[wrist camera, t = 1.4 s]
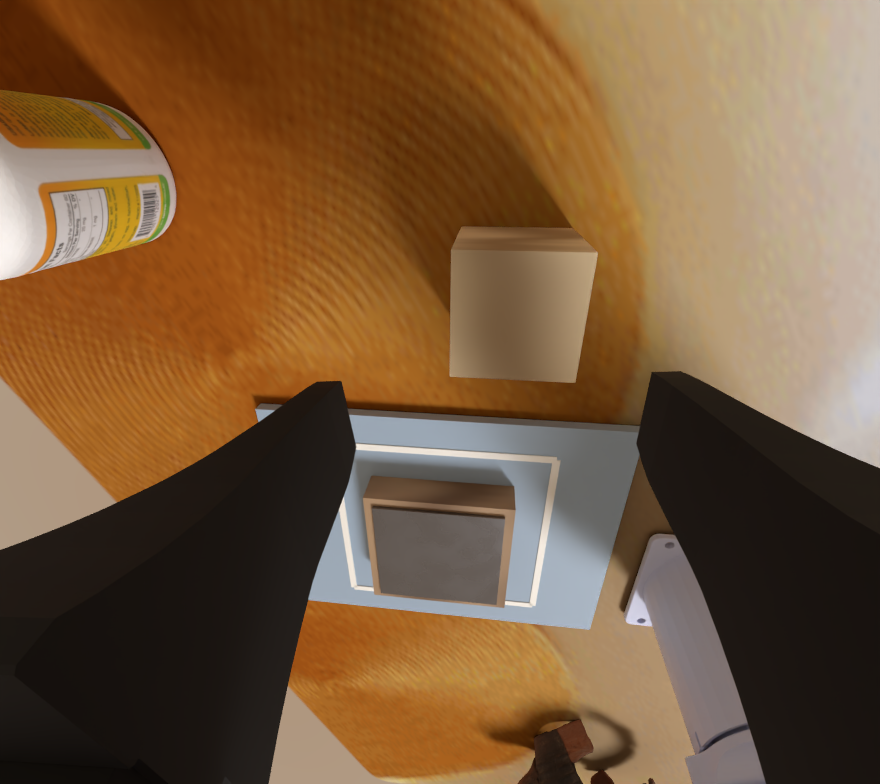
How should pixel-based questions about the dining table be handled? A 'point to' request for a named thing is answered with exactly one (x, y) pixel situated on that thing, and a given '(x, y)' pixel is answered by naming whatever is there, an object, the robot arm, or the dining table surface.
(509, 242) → the oak block
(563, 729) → the pottery mug
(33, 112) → the supplement bottle
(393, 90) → the dining table surface
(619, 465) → the board
